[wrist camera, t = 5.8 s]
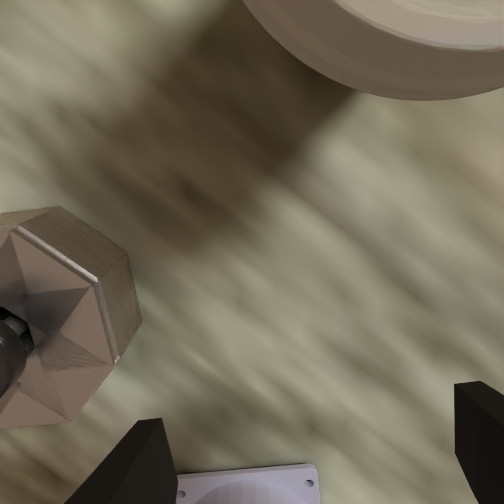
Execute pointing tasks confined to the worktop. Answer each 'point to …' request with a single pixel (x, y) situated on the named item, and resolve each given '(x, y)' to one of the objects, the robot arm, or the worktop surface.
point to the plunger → (11, 351)
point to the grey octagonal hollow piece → (63, 312)
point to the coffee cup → (394, 43)
